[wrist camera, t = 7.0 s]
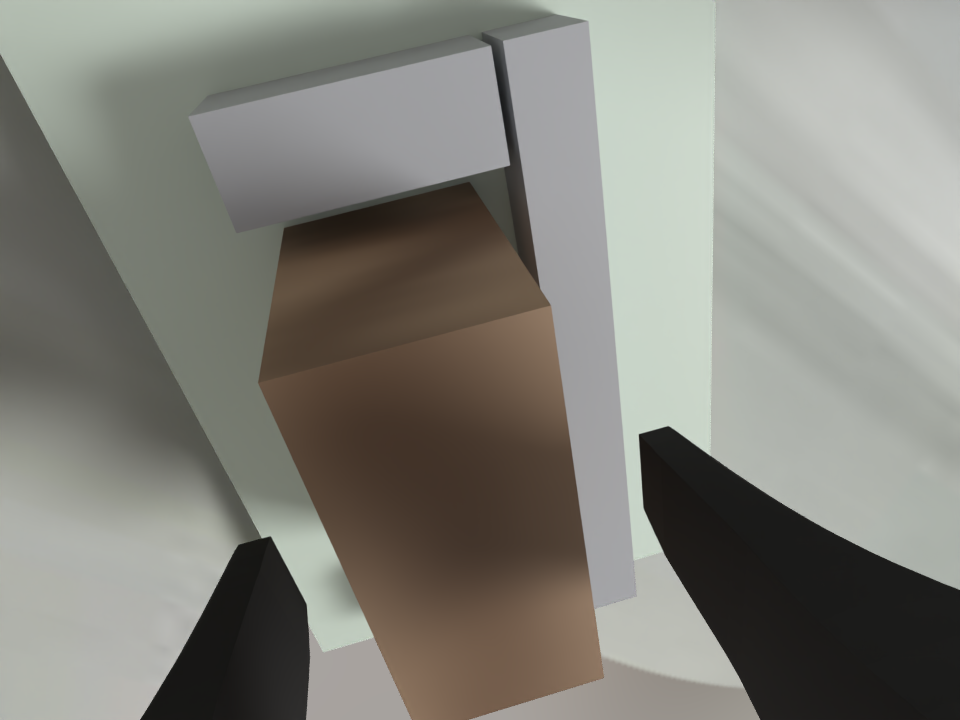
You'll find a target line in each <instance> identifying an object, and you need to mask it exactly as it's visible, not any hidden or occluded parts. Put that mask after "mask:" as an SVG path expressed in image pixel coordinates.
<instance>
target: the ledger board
mask: <svg viewBox="0 0 960 720" xmlns="http://www.w3.org/2000/svg"><path fill="white" fill-rule="evenodd" d="M715 21H716V0H0V54H1V56H2V58H3V60H4V62H5V64H6V65H7V67H8V69H9V71H10V73H11V75H12V77H13V78H14V80H15V82H16V84H17V86H18V88H19V89H20V91H21V93H22V95H23V97H24V99H25V101H26V102H27V104H28V106H29V108H30V110H31V112H32V114H33V115H34V117H35V119H36V121H37V123H38V125H39V127H40V128H41V130H42V132H43V134H44V136H45V138H46V139H47V141H48V143H49V145H50V147H51V149H52V151H53V152H54V154H55V156H56V158H57V160H58V162H59V164H60V165H61V167H62V169H63V171H64V173H65V175H66V177H67V178H68V180H69V182H70V184H71V186H72V188H73V189H74V191H75V193H76V195H77V197H78V199H79V201H80V202H81V204H82V206H83V208H84V210H85V212H86V214H87V215H88V217H89V219H90V221H91V223H92V225H93V227H94V228H95V230H96V232H97V234H98V236H99V238H100V240H101V241H102V243H103V245H104V247H105V249H106V251H107V252H108V254H109V256H110V258H111V260H112V262H113V264H114V265H115V267H116V269H117V271H118V273H119V275H120V277H121V278H122V280H123V282H124V284H125V286H126V288H127V290H128V291H129V293H130V295H131V297H132V299H133V301H134V302H135V304H136V306H137V308H138V310H139V312H140V314H141V315H142V317H143V319H144V321H145V323H146V325H147V327H148V328H149V330H150V332H151V334H152V336H153V338H154V340H155V341H156V343H157V345H158V347H159V349H160V351H161V352H162V354H163V356H164V358H165V360H166V362H167V364H168V365H169V367H170V369H171V371H172V373H173V375H174V377H175V378H176V380H177V382H178V384H179V386H180V388H181V390H182V391H183V393H184V395H185V397H186V399H187V401H188V402H189V404H190V406H191V408H192V410H193V412H194V414H195V415H196V417H197V419H198V421H199V423H200V425H201V427H202V428H203V430H204V432H205V434H206V436H207V438H208V440H209V441H210V443H211V445H212V447H213V449H214V451H215V452H216V454H217V456H218V458H219V460H220V462H221V464H222V465H223V467H224V469H225V471H226V473H227V475H228V477H229V478H230V480H231V482H232V484H233V486H234V488H235V490H236V491H237V493H238V495H239V497H240V499H241V501H242V502H243V504H244V506H245V508H246V510H247V512H248V514H249V515H250V517H251V519H252V521H253V523H254V525H255V527H256V528H257V530H258V532H259V534H260V536H261V538H265V537H269V536H271V537H272V539H273V541H274V543H275V545H276V547H277V549H278V551H279V553H280V554H281V556H282V558H283V560H284V562H285V564H286V566H287V568H288V570H289V571H290V573H291V575H292V577H293V579H294V581H295V583H296V585H297V587H298V588H299V590H300V592H301V594H302V596H303V598H304V600H305V602H306V604H307V614H308V625H309V626H310V628H311V630H312V632H313V634H314V636H315V638H316V640H317V641H318V643H319V645H320V647H321V649H322V651H323V652H326V651H330V650H332V649H336V648H340V647H343V646H346V645H350V644H353V643H357V642H360V641H364V640H367V639H370V638H374V636H373V634H372V632H371V629H370V627H369V625H368V623H367V621H366V618H365V616H364V614H363V612H362V610H361V607H360V605H359V603H358V601H357V599H356V597H355V594H354V592H353V590H352V588H351V586H350V583H349V581H348V579H347V577H346V575H345V572H344V570H343V568H342V566H341V564H340V562H339V559H338V557H337V555H336V553H335V551H334V548H333V546H332V544H331V542H330V540H329V537H328V535H327V533H326V531H325V529H324V527H323V524H322V522H321V520H320V518H319V516H318V513H317V511H316V509H315V507H314V505H313V502H312V500H311V498H310V496H309V494H308V492H307V489H306V487H305V485H304V483H303V481H302V478H301V476H300V474H299V472H298V470H297V467H296V465H295V463H294V461H293V459H292V456H291V454H290V452H289V450H288V448H287V446H286V443H285V441H284V439H283V437H282V435H281V432H280V430H279V428H278V426H277V424H276V421H275V419H274V417H273V415H272V413H271V411H270V408H269V406H268V404H267V402H266V400H265V397H264V395H263V393H262V391H261V389H260V386H259V384H258V380H259V374H260V368H261V362H262V356H263V350H264V344H265V338H266V332H267V326H268V320H269V314H270V308H271V302H272V296H273V290H274V284H275V278H276V272H277V266H278V260H279V254H280V248H281V242H282V237H283V231H284V228H286V227H290V226H294V225H298V224H302V223H306V222H310V221H314V220H318V219H322V218H326V217H330V216H334V215H338V214H342V213H346V212H350V211H354V210H358V209H362V208H366V207H370V206H374V205H378V204H382V203H386V202H390V201H394V200H398V199H402V198H406V197H410V196H414V195H418V194H422V193H426V192H430V191H434V190H438V189H442V188H446V187H450V186H454V185H458V184H462V183H466V182H470V183H471V185H472V186H473V188H474V189H475V191H476V192H477V194H478V195H479V197H480V198H481V200H482V201H483V203H484V204H485V206H486V207H487V209H488V210H489V212H490V213H491V215H492V217H493V218H494V220H495V221H496V223H497V224H498V226H499V227H500V229H501V230H502V232H503V233H504V235H505V236H506V238H507V239H508V241H509V242H510V244H511V245H512V247H513V248H514V250H515V251H516V253H517V254H518V256H519V257H520V259H521V261H522V262H523V264H524V265H525V267H526V268H527V270H528V271H529V273H530V274H531V276H532V277H533V279H534V280H535V282H536V283H537V285H538V286H539V288H540V289H541V291H542V292H543V294H544V295H545V297H546V298H547V300H548V301H549V303H550V305H551V308H552V315H553V322H554V329H555V337H556V344H557V351H558V358H559V365H560V372H561V379H562V386H563V393H564V400H565V407H566V414H567V421H568V428H569V435H570V442H571V449H572V456H573V463H574V470H575V477H576V484H577V491H578V498H579V505H580V512H581V519H582V526H583V533H584V541H585V548H586V555H587V562H588V569H589V576H590V583H591V590H592V597H593V604H594V609H596V608H599V607H602V606H606V605H609V604H612V603H616V602H619V601H622V600H626V599H629V598H632V597H636V596H637V595H636V583H635V571H634V560H637V559H641V558H644V557H647V556H651V555H654V554H657V553H661V552H663V550H662V548H661V546H660V544H659V541H658V539H657V537H656V535H655V533H654V531H653V529H652V526H651V524H650V522H649V520H648V518H647V515H646V513H645V511H644V509H643V495H642V479H641V464H640V449H639V434H641V433H645V432H648V431H652V430H656V429H659V428H663V427H666V426H669V427H671V428H673V429H674V430H676V431H677V432H678V433H680V434H681V435H683V436H684V437H685V438H687V439H688V440H689V441H691V442H692V443H693V444H695V445H696V446H698V447H699V448H700V449H702V450H703V451H704V452H706V453H707V454H709V455H710V436H711V353H712V270H713V187H714V104H715Z"/></svg>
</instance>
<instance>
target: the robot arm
mask: <svg viewBox="0 0 960 720" xmlns="http://www.w3.org/2000/svg"><path fill="white" fill-rule="evenodd" d="M639 449H640V464H641V479H642V495H643V509H644V511H645V513H646V515H647V518H648V520H649V522H650V524H651V526H652V529H653V531H654V533H655V535H656V537H657V539H658V541H659V544H660V546H661V548H662V550H663V552H664V554H665V556H666V558H667V559H668V561H669V563H670V564H671V566H672V567H673V569H674V571H675V572H676V574H677V576H678V577H679V579H680V581H681V582H682V584H683V585H684V587H685V589H686V590H687V592H688V594H689V595H690V597H691V598H692V600H693V602H694V603H695V605H696V606H697V608H698V610H699V611H700V613H701V615H702V616H703V618H704V619H705V621H706V623H707V624H708V626H709V627H710V629H711V631H712V632H713V634H714V635H715V637H716V639H717V640H718V642H719V644H720V645H721V647H722V648H723V650H724V652H725V653H726V655H727V657H728V658H729V660H730V662H731V664H732V665H733V667H734V669H735V671H736V672H737V674H738V676H739V678H740V680H741V682H742V684H743V686H744V688H745V690H746V692H747V694H748V696H749V698H750V700H751V702H752V704H753V706H754V708H755V710H756V712H757V714H758V716H759V718H760V720H960V590H958V589H956V588H953V587H951V586H948V585H945V584H943V583H940V582H938V581H936V580H933V579H931V578H929V577H926V576H924V575H922V574H919V573H917V572H914V571H912V570H910V569H907V568H905V567H903V566H900V565H898V564H896V563H893V562H891V561H889V560H887V559H885V558H882V557H880V556H878V555H876V554H874V553H872V552H870V551H868V550H866V549H864V548H862V547H860V546H858V545H856V544H854V543H852V542H850V541H848V540H846V539H844V538H842V537H840V536H838V535H836V534H834V533H832V532H830V531H828V530H826V529H825V528H823V527H821V526H819V525H817V524H816V523H814V522H812V521H810V520H809V519H807V518H805V517H804V516H802V515H800V514H798V513H797V512H795V511H793V510H792V509H790V508H788V507H787V506H785V505H783V504H782V503H780V502H779V501H777V500H775V499H774V498H772V497H771V496H769V495H767V494H766V493H764V492H763V491H761V490H760V489H758V488H757V487H755V486H754V485H752V484H751V483H749V482H748V481H746V480H745V479H743V478H742V477H740V476H739V475H737V474H736V473H734V472H733V471H731V470H730V469H728V468H727V467H725V466H724V465H723V464H721V463H720V462H718V461H717V460H716V459H714V458H713V457H711V456H710V455H709V454H707V453H706V452H704V451H703V450H702V449H700V448H699V447H698V446H696V445H695V444H693V443H692V442H691V441H689V440H688V439H687V438H685V437H684V436H683V435H681V434H680V433H678V432H677V431H676V430H674V429H673V428H671V427H669V426H666V427H663V428H659V429H656V430H652V431H648V432H645V433H641V434H639ZM309 664H310V650H309V629H308V614H307V604H306V602H305V600H304V598H303V596H302V594H301V592H300V590H299V588H298V587H297V585H296V583H295V581H294V579H293V577H292V575H291V573H290V571H289V570H288V568H287V566H286V564H285V562H284V560H283V558H282V556H281V554H280V553H279V551H278V549H277V547H276V545H275V543H274V541H273V539H272V537H271V536H269V537H265V538H262V539H258V540H255V541H251V542H247V543H244V544H240V545H238V547H237V548H236V550H235V551H234V553H233V555H232V557H231V559H230V561H229V563H228V565H227V567H226V569H225V571H224V573H223V575H222V577H221V579H220V581H219V582H218V584H217V586H216V588H215V590H214V592H213V594H212V596H211V598H210V600H209V602H208V604H207V606H206V608H205V609H204V611H203V613H202V615H201V617H200V619H199V621H198V622H197V624H196V626H195V628H194V630H193V632H192V633H191V635H190V637H189V639H188V641H187V642H186V644H185V646H184V648H183V650H182V652H181V653H180V655H179V657H178V659H177V660H176V662H175V664H174V665H173V667H172V669H171V670H170V672H169V674H168V675H167V677H166V679H165V680H164V682H163V684H162V685H161V687H160V689H159V690H158V692H157V693H156V695H155V697H154V698H153V700H152V702H151V703H150V705H149V707H148V708H147V710H146V711H145V713H144V715H143V716H142V718H141V719H140V720H306V711H307V697H308V696H307V695H308V681H309Z"/></svg>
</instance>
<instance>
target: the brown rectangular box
mask: <svg viewBox="0 0 960 720" xmlns="http://www.w3.org/2000/svg"><path fill="white" fill-rule="evenodd" d="M258 384H259V386H260V389H261V391H262V393H263V395H264V397H265V400H266V402H267V404H268V406H269V408H270V411H271V413H272V415H273V417H274V419H275V421H276V424H277V426H278V428H279V430H280V432H281V435H282V437H283V439H284V441H285V443H286V446H287V448H288V450H289V452H290V454H291V456H292V459H293V461H294V463H295V465H296V467H297V470H298V472H299V474H300V476H301V478H302V481H303V483H304V485H305V487H306V489H307V492H308V494H309V496H310V498H311V500H312V502H313V505H314V507H315V509H316V511H317V513H318V516H319V518H320V520H321V522H322V524H323V527H324V529H325V531H326V533H327V535H328V537H329V540H330V542H331V544H332V546H333V548H334V551H335V553H336V555H337V557H338V559H339V562H340V564H341V566H342V568H343V570H344V572H345V575H346V577H347V579H348V581H349V583H350V586H351V588H352V590H353V592H354V594H355V597H356V599H357V601H358V603H359V605H360V607H361V610H362V612H363V614H364V616H365V618H366V621H367V623H368V625H369V627H370V629H371V632H372V634H373V636H374V638H375V640H376V642H377V645H378V647H379V649H380V651H381V653H382V656H383V657H384V660H385V662H386V664H387V666H388V669H389V671H390V673H391V675H392V677H393V680H394V682H395V684H396V686H397V688H398V691H399V693H400V695H401V697H402V699H403V701H404V704H405V706H406V708H407V710H408V712H409V714H410V717H411V719H412V720H469V719H472V718H475V717H479V716H482V715H485V714H489V713H492V712H495V711H498V710H502V709H505V708H508V707H511V706H515V705H518V704H521V703H524V702H528V701H531V700H534V699H537V698H541V697H544V696H547V695H550V694H554V693H557V692H560V691H563V690H567V689H570V688H573V687H576V686H579V685H583V684H586V683H589V682H592V681H596V680H599V679H602V678H604V674H603V668H602V661H601V653H600V646H599V639H598V632H597V625H596V618H595V611H594V604H593V597H592V590H591V583H590V576H589V569H588V562H587V555H586V548H585V541H584V533H583V526H582V519H581V512H580V505H579V498H578V491H577V484H576V477H575V470H574V463H573V456H572V449H571V442H570V435H569V428H568V421H567V414H566V407H565V400H564V393H563V386H562V379H561V372H560V365H559V358H558V351H557V344H556V337H555V329H554V322H553V315H552V308H551V305H550V303H549V301H548V300H547V298H546V297H545V295H544V294H543V292H542V291H541V289H540V288H539V286H538V285H537V283H536V282H535V280H534V279H533V277H532V276H531V274H530V273H529V271H528V270H527V268H526V267H525V265H524V264H523V262H522V261H521V259H520V257H519V256H518V254H517V253H516V251H515V250H514V248H513V247H512V245H511V244H510V242H509V241H508V239H507V238H506V236H505V235H504V233H503V232H502V230H501V229H500V227H499V226H498V224H497V223H496V221H495V220H494V218H493V217H492V215H491V213H490V212H489V210H488V209H487V207H486V206H485V204H484V203H483V201H482V200H481V198H480V197H479V195H478V194H477V192H476V191H475V189H474V188H473V186H472V185H471V183H470V182H466V183H462V184H458V185H454V186H450V187H446V188H442V189H438V190H434V191H430V192H426V193H422V194H418V195H414V196H410V197H406V198H402V199H398V200H394V201H390V202H386V203H382V204H378V205H374V206H370V207H366V208H362V209H358V210H354V211H350V212H346V213H342V214H338V215H334V216H330V217H326V218H322V219H318V220H314V221H310V222H306V223H302V224H298V225H294V226H290V227H286V228H284V231H283V237H282V242H281V248H280V254H279V260H278V266H277V272H276V278H275V284H274V290H273V296H272V302H271V308H270V314H269V320H268V326H267V332H266V338H265V344H264V350H263V356H262V362H261V368H260V374H259V380H258Z"/></svg>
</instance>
